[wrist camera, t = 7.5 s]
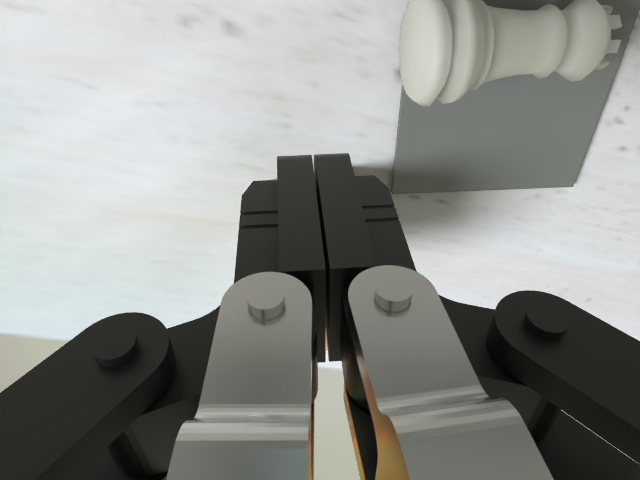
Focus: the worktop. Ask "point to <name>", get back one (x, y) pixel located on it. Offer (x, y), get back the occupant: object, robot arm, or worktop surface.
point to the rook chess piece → (498, 44)
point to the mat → (507, 125)
